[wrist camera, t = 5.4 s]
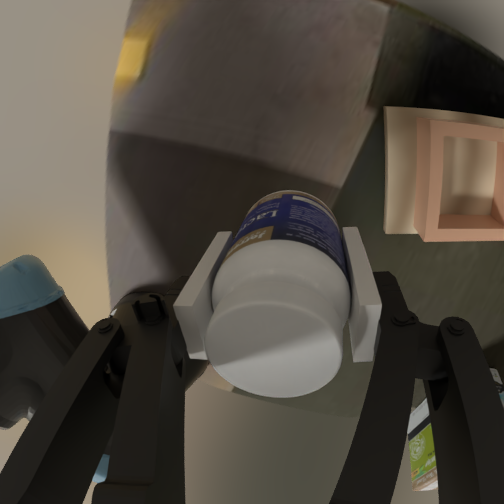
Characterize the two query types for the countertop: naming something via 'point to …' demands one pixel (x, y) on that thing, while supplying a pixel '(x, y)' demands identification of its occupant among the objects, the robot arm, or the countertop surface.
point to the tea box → (429, 443)
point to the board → (454, 168)
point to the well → (430, 184)
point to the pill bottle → (281, 299)
